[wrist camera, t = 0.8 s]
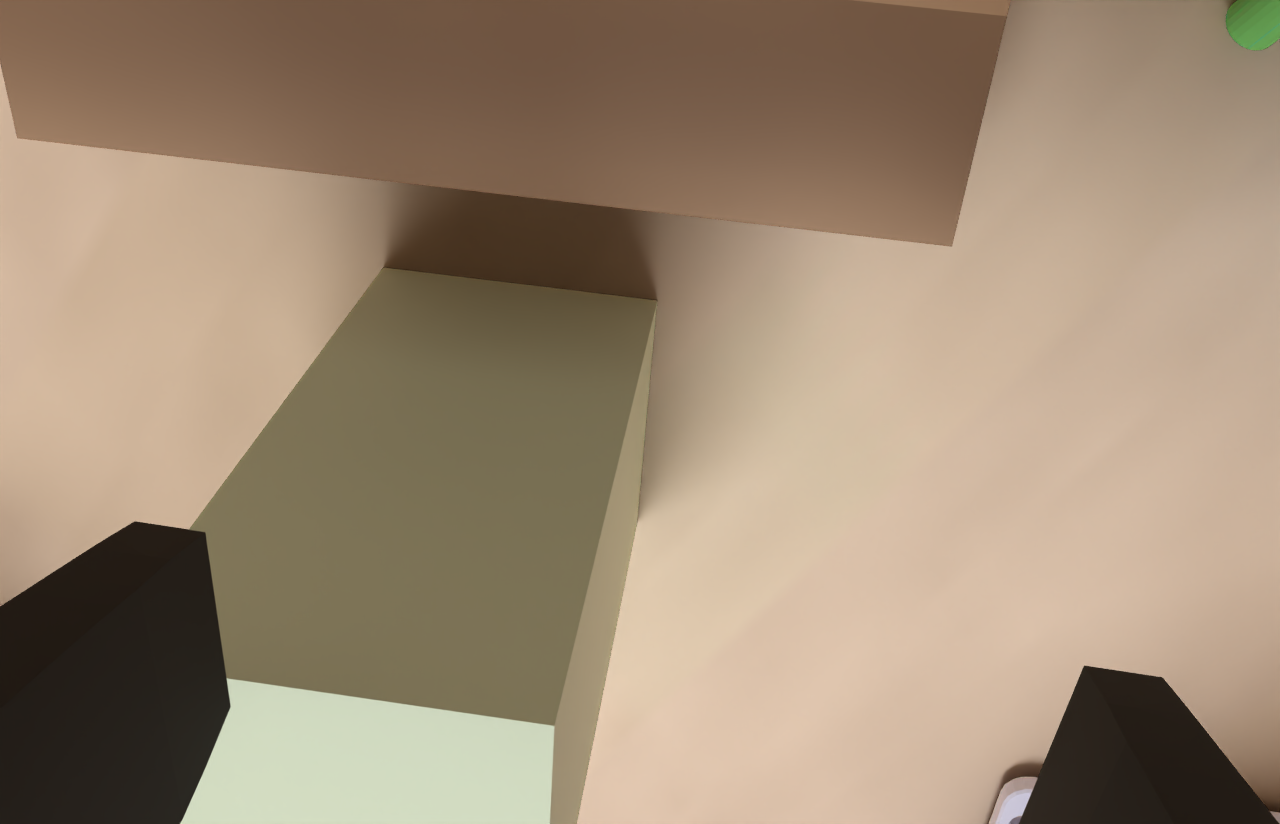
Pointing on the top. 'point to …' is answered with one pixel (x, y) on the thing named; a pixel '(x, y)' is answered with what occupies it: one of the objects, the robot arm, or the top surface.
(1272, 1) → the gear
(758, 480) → the top surface
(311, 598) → the sage peg
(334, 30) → the walnut collar
